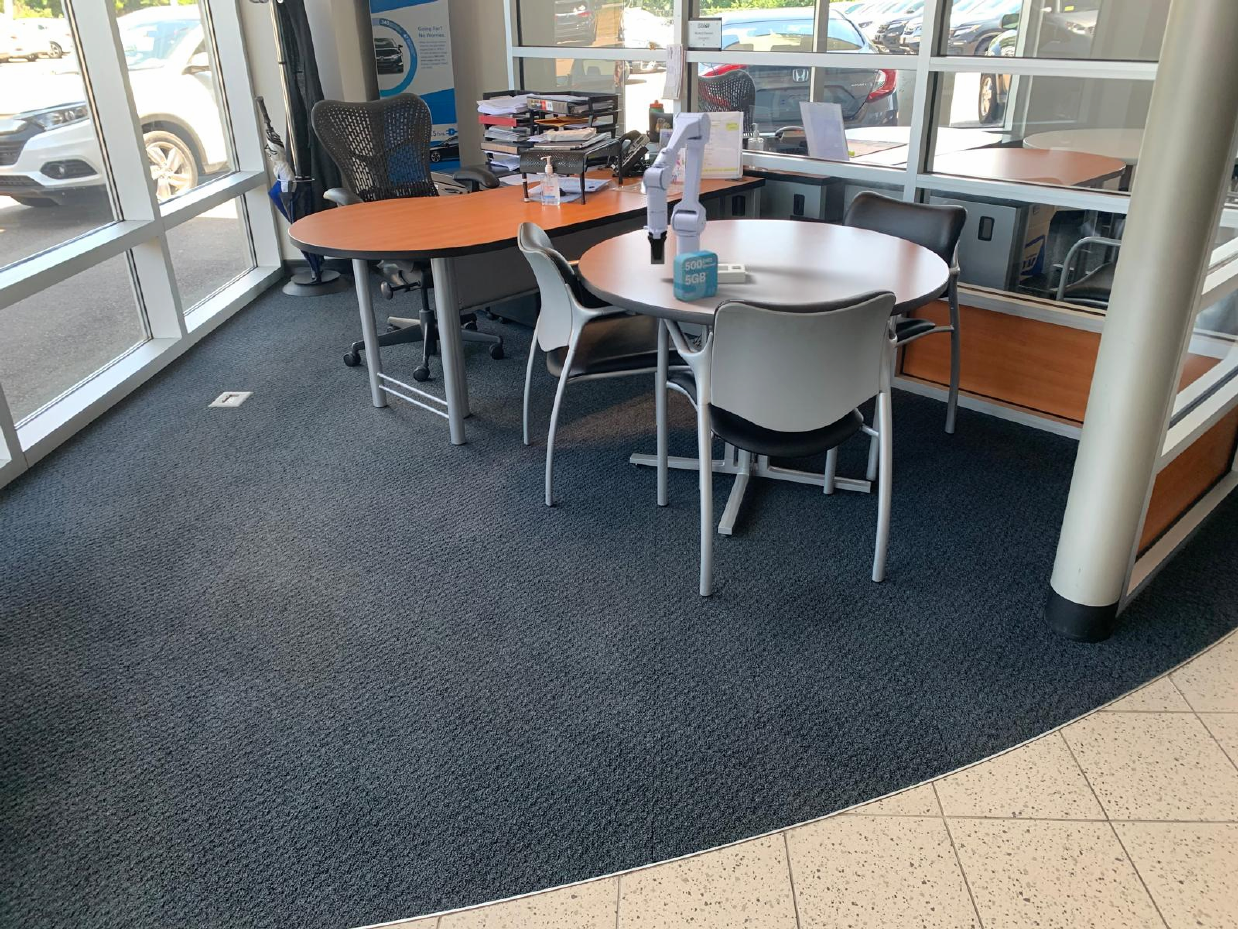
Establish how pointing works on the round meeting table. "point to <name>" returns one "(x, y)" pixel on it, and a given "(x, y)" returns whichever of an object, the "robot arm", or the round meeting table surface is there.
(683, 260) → the data package
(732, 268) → the white socket board
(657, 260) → the plug
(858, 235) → the round meeting table surface
